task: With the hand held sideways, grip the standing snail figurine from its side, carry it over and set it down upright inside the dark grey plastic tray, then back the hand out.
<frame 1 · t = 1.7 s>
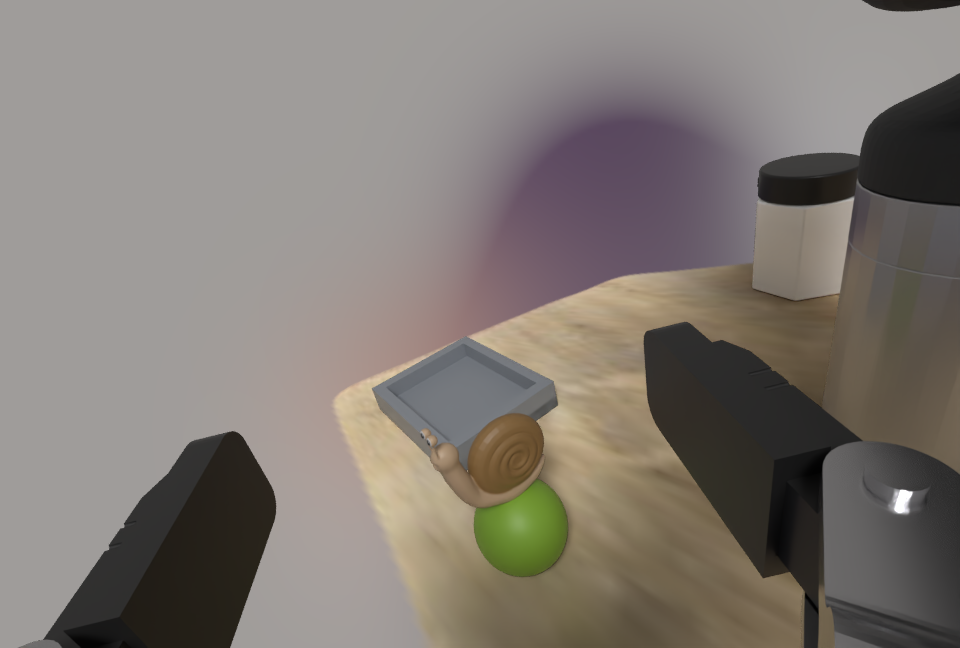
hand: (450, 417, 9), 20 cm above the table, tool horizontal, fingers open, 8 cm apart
tray: (463, 407, 43), on the table
jar: (797, 283, 49), on the table
snail figurine: (522, 560, 29), on the table
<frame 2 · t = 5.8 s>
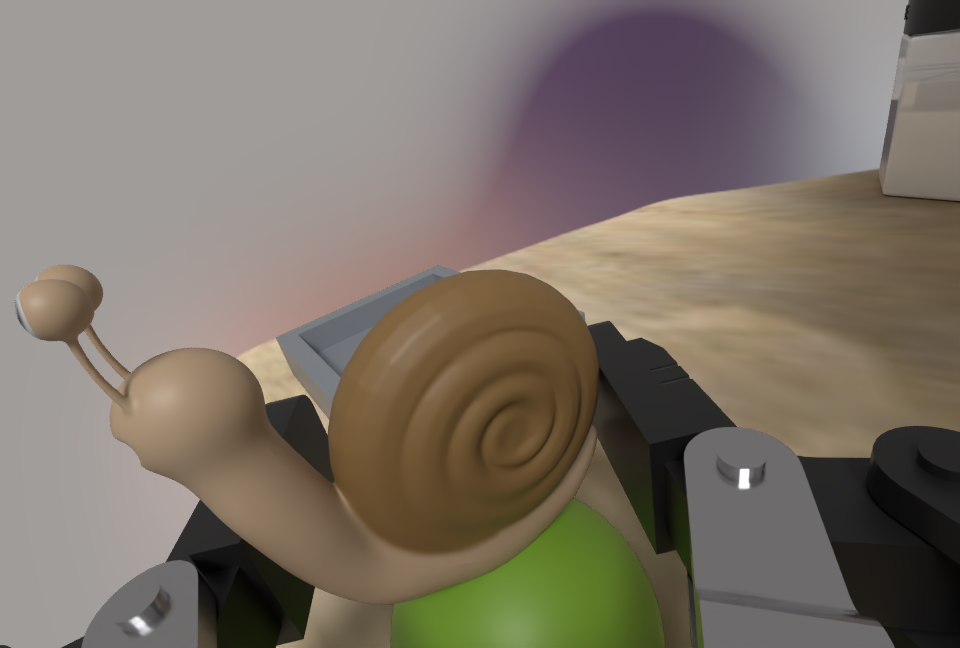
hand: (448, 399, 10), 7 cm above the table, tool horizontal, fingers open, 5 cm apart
tray: (426, 367, 25), on the table
jar: (955, 185, 31), on the table
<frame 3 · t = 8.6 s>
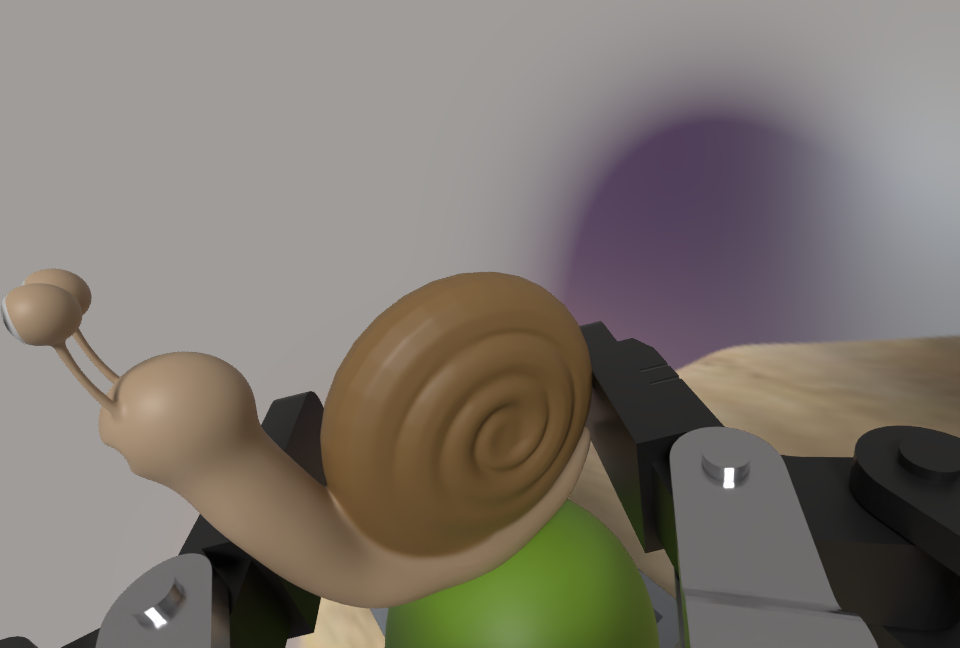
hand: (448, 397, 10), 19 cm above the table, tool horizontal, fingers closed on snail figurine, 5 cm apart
tray: (515, 624, 24), on the table
when the fingers open (9 cm above the table, at t = 11.4 s): snail figurine moves 3 cm, resting on tray.
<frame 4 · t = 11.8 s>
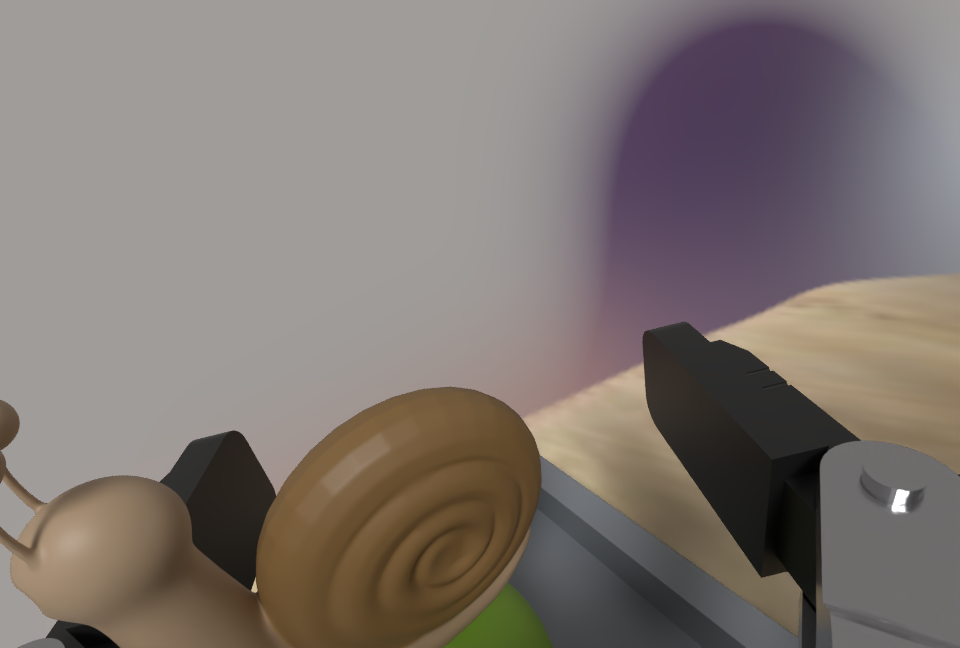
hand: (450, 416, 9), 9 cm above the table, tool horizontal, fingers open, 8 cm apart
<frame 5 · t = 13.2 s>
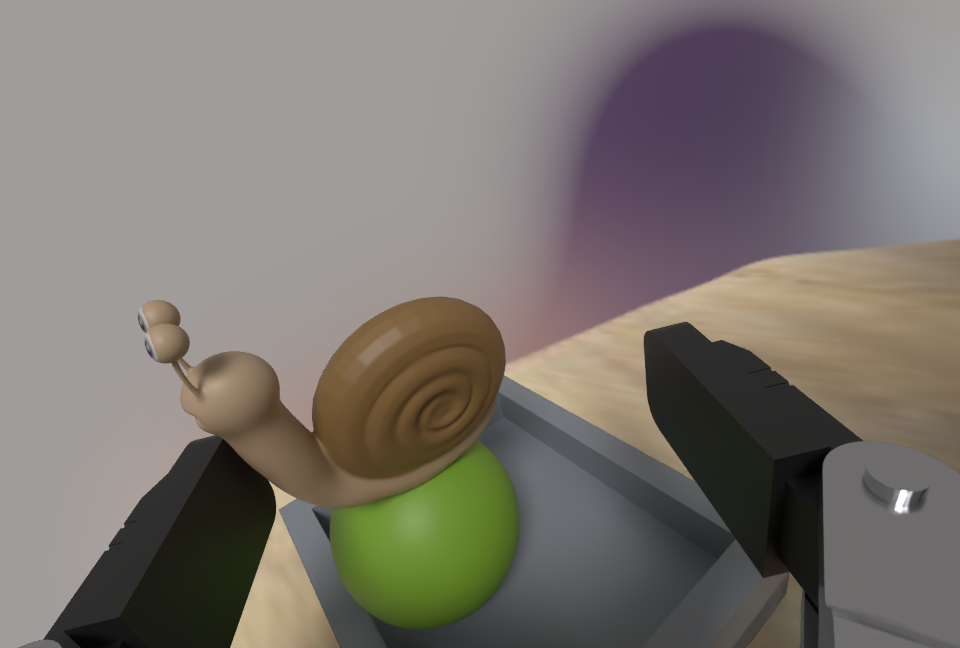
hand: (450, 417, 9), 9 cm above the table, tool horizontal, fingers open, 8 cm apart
tray: (507, 569, 17), on the table
snail figurine: (421, 573, 15), point 1 cm above the table, touching tray
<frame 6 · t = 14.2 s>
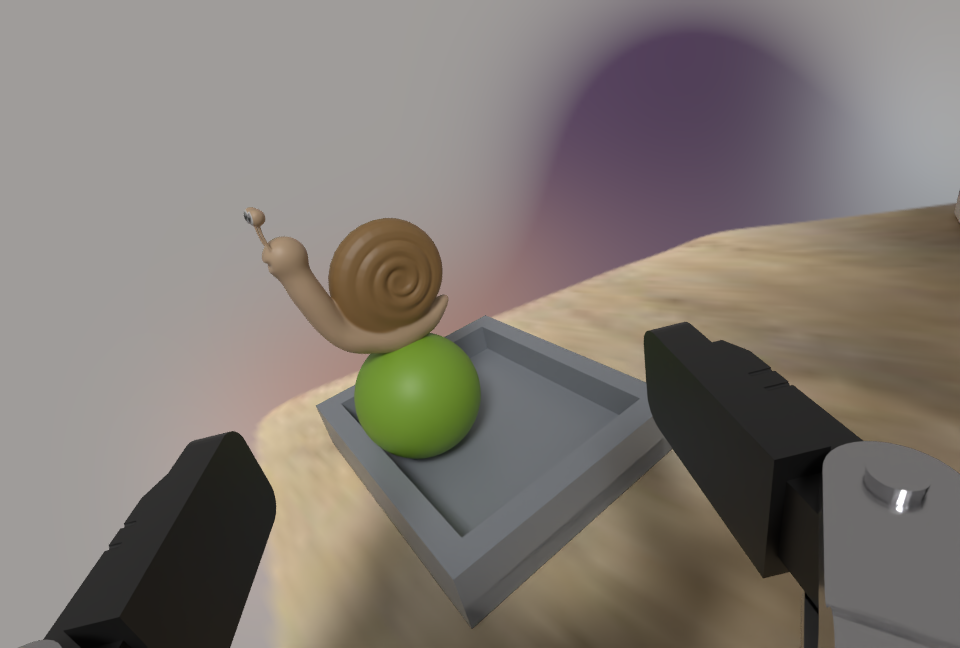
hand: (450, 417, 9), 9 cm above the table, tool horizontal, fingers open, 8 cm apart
tray: (486, 442, 22), on the table
snail figurine: (425, 450, 22), point 1 cm above the table, touching tray
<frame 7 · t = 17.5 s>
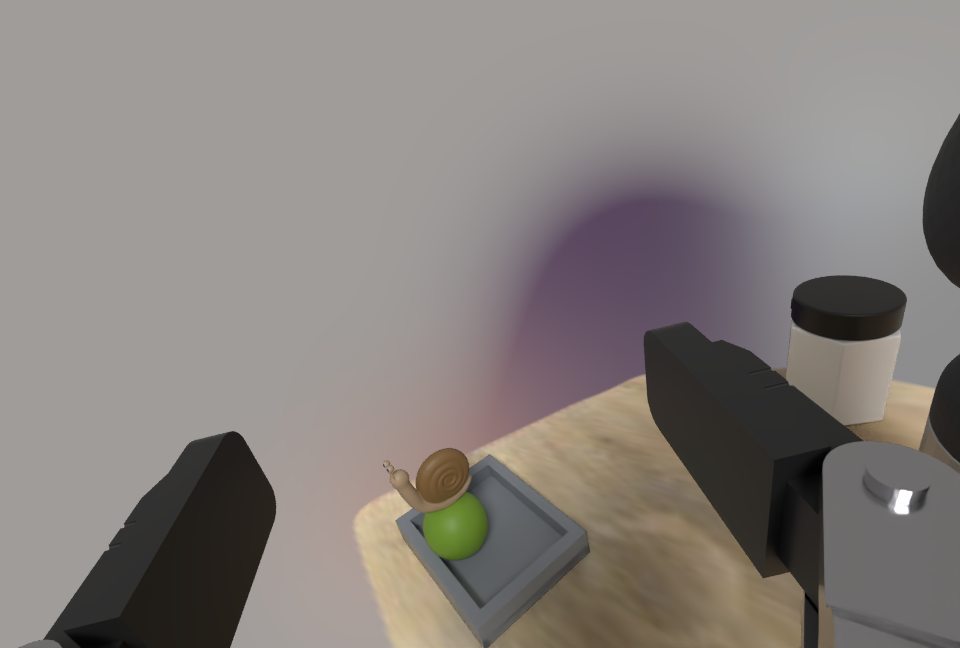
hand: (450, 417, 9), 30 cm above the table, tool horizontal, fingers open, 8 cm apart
tray: (490, 544, 41), on the table
jar: (830, 401, 48), on the table
snail figurine: (458, 550, 41), point 1 cm above the table, touching tray
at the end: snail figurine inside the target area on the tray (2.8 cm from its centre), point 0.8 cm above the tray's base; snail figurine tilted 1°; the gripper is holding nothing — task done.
